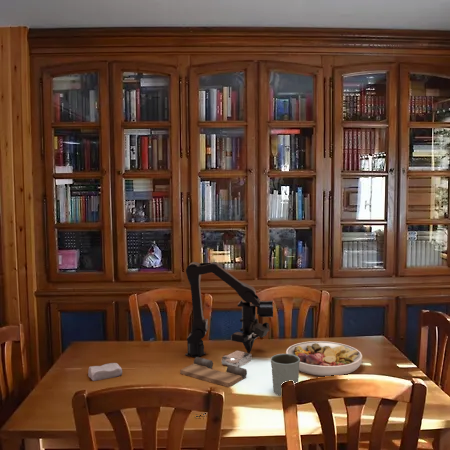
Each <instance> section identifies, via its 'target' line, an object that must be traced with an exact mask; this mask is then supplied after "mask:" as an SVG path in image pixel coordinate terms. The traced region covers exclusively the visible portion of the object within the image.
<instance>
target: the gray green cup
mask: <svg viewBox="0 0 450 450" xmlns="http://www.w3.org/2000/svg"><path fill="white" fill-rule="evenodd" d="M299 364H300V358H299V357H298V356H296V355H292V354H286V353H277V354H275V355H273V356H271V357H270V366H271V375H272V376H271V377H272V391H273V393H274V395H275V394H276V395H277V394H278V395H277V396H280V395H281V384H282V383H283V382H285V381H289V380H293V381H294V383H296V382H298V383H299V377H300V376H299V375H300V371H299ZM279 394H280V395H279Z"/></svg>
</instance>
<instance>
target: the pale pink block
mask: <svg viewBox="0 0 450 450" xmlns="http://www.w3.org/2000/svg"><path fill="white" fill-rule="evenodd" d="M251 360H253V359H252V353H251V352H250V353H248V352H247V351H241V350H235V351H233V352H231V353H229V354H227V355H223V356H222V357H221V365H224V366H227V367H228V366H229V365H232V366H236V367H240V368H242V366H244V365H247V364H248V363H249V362H251Z"/></svg>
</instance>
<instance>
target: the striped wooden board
mask: <svg viewBox="0 0 450 450" xmlns="http://www.w3.org/2000/svg"><path fill="white" fill-rule="evenodd" d="M213 366H214V361H213V360H211V359H207V358H204V357H196V358H195V357H194V360H193V363H192V364H190V365H187V366H186V367H183V368H181V369H180V370H179V371H180V374H179V375H184V376H187V377H192V378H195V379H197V380H202V381H205V382H210V383H211V384H217V385H220V386H224V387H226V388H231V387H232V386H233V385H235V384H238V383H239V382H240V381H242V380H243V379H245V378H246V377H247V374H248V370H247V369H246V368H244V367H236V366H232V365H229V366H227V367H226V370H225V371H221V370H217V369H213Z"/></svg>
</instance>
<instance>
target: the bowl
mask: <svg viewBox="0 0 450 450" xmlns="http://www.w3.org/2000/svg"><path fill="white" fill-rule="evenodd" d="M285 354H292V355H296V356H298V357H299V358H300V364H299V372H302V373H305V374H308V375H312V376H320V377H332V376H331V375H339V376H344V374H345V375H347V374H351V373H353V372H355V371H356V370H358V369H359V367H360V366H361V365H362V362H363V354H362V352H361V351H360V350H358V349H357V348H356V347H353V346H350V345H348V344H344V343H340V342H333V341H327V340H326V341H325V340H324V341H323V340H319V341H317V340H315V341H314V340H312V341H303V342H298V343H295V344H292V345H290V346H289V347H287V348H286V351H285Z"/></svg>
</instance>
